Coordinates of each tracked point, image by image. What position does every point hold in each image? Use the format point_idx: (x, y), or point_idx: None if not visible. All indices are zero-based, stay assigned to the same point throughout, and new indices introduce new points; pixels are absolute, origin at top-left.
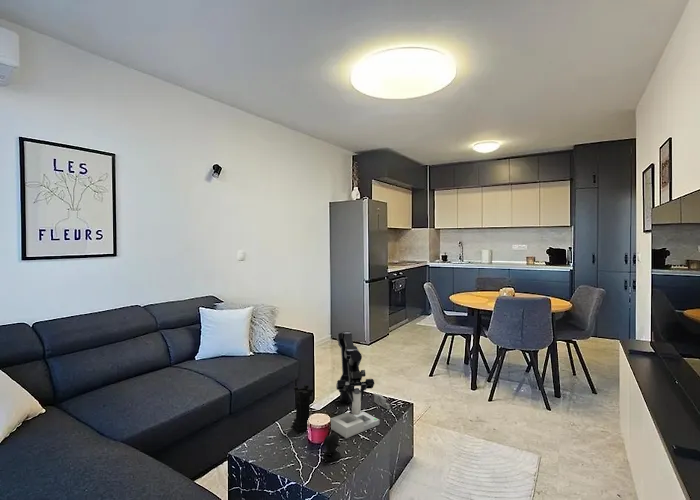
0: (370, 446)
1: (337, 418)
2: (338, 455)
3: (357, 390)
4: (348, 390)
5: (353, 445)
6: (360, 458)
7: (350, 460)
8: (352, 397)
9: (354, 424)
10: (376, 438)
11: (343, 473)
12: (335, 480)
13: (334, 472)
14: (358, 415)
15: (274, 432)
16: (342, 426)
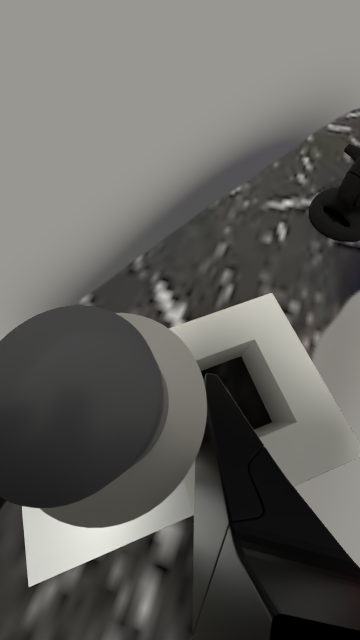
0: (176, 239)
1: (309, 433)
2: (323, 195)
3: (97, 313)
4: (334, 541)
5: (240, 261)
6: (240, 191)
7: (277, 190)
8: (212, 392)
9: (213, 314)
10: (123, 281)
11: (312, 149)
12: (339, 133)
13: (339, 157)
14: None
15: None
16: (288, 327)
